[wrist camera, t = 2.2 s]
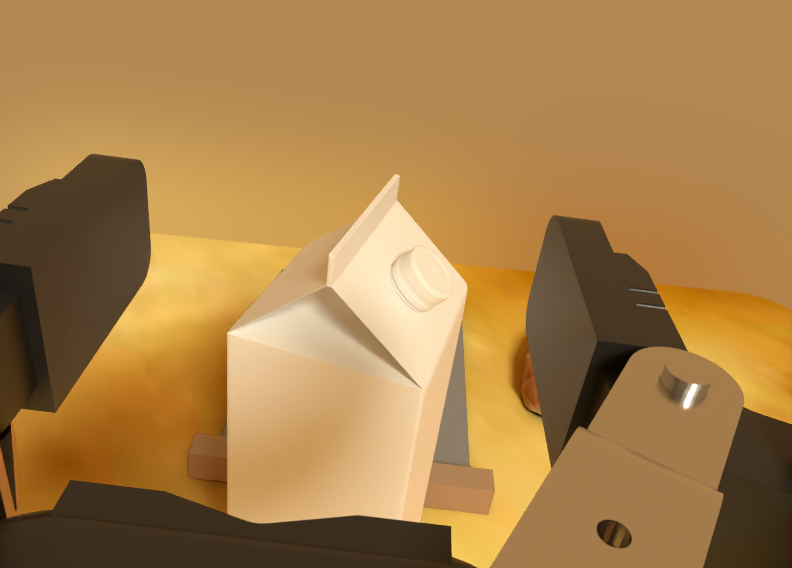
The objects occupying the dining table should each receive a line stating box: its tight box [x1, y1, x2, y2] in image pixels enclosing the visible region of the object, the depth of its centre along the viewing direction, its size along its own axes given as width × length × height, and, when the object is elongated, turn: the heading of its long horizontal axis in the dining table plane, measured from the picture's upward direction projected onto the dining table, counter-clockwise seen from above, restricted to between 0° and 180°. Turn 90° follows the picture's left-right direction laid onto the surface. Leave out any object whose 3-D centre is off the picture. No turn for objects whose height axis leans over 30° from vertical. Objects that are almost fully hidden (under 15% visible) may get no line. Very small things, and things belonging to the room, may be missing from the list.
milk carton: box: [227, 174, 467, 523], centre depth 29 cm, size 7×7×19 cm
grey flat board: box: [188, 270, 495, 515], centre depth 47 cm, size 16×21×2 cm
